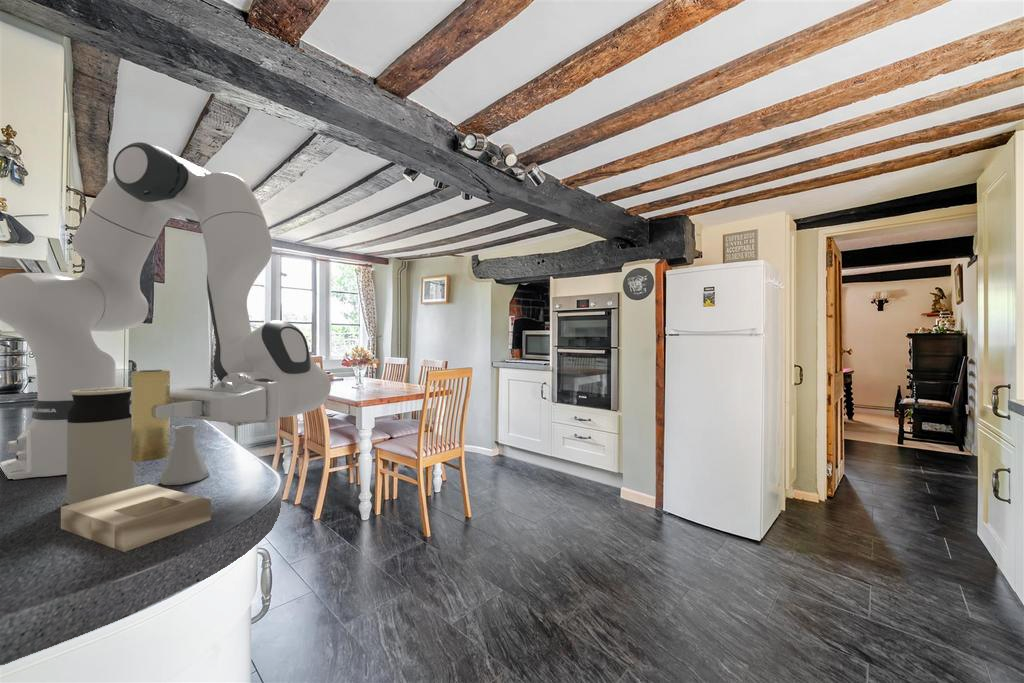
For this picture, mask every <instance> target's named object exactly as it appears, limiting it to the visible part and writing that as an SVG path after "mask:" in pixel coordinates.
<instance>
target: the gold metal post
mask: <svg viewBox="0 0 1024 683" xmlns="http://www.w3.org/2000/svg"><path fill="white" fill-rule="evenodd" d="M170 376H171V370H166V369H165V370H164V369H143V370H138V371H137V370H135V371H132V372H131V388H132V392H131V401H132V414H131V461H135V463H136V462H137V463H139V462H140V463H141V462H150V461H157V460H160V459H164V458H169V457H170V455H171V452H170V449H171V448H170V447H171V446H170V444H171V443H170V442H171V440H170V437H171V436H170V434H171V433H170V432H171V431H170V428H171V427H170V426H171V418H164V419H158V418H154V417H152V407H153V406H154V405H161V404H170V389H171V377H170Z"/></svg>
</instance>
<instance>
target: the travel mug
mask: <svg viewBox="0 0 1024 683" xmlns="http://www.w3.org/2000/svg"><path fill="white" fill-rule="evenodd" d="M70 394H71V395H72V397H73V401H74V404H73V405H72V406H71V408H70V409H69V411H68V412H67V474H66V504H67V505H70V504H74V503H78V502H81V501H85V500H89V499H93V498H97V497H101V496H104V495H108V494H112V493H116V492H120V491H123V490H127V489H131V488H135V487H136V486H135V485H136V480H135V479H136V462H135V461H131V414H130V404H131V403H132V399H131V397H132V386H131V387H129V386H118V387H117V386H115V387H106V388H90V389H80V390H73V391H71V392H70Z"/></svg>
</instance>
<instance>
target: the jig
mask: <svg viewBox="0 0 1024 683" xmlns="http://www.w3.org/2000/svg"><path fill="white" fill-rule="evenodd" d="M211 520H212V499H211V498H208V497H207V498H206V497H203V496H198V495H194V494H190V493H188V492H187V493H186V492H183V491H180V490H179V491H178V490H174V489H170V488H166V487H161V486H157V485H153V484H150V483H147V484H144V485H139V486H135V488H131V489H127V490H123V491H120V492H116V493H112V494H108V495H104V496H101V497H97V498H93V499H89V500H85V501H81V502H78V503H74V504H67V505H63V506H60V529H61V530H64V531H66V532H69V533H71V534H74V535H77V536H80V537H82V538H85V539H88V540H91V541H92V542H93V541H94V542H96V543H98V544H100V545H101V544H102V545H104V546H106V547H109V548H112V549H114V550H117V551H119V552H122V553H126V552H128V551H131V550H134V549H137V548H140V547H142V546H145V545H148V544H150V543H152V542H154V541H158V540H161V539H164V538H167V537H169V536H172V535H175V534H177V533H180V532H182V531H185V530H188V529H191V528H192V527H193V528H194V527H195V526H198V525H201V524H204V523H206V522H209V521H211Z"/></svg>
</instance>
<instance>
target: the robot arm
mask: <svg viewBox="0 0 1024 683" xmlns="http://www.w3.org/2000/svg"><path fill="white" fill-rule="evenodd" d="M112 170H113V172H112V173H113V177H112V178H111V179H110V180H109V181H108V182H107V183H106V184H105V185H104V186H103V188H102V189H101V190H100V192H99V193H98V194H97V195H96V197H95V198H94V199H93V202H92V203H91V204H90V206H89V208H88V210H87V212H86V213H85V215H84V217H83V219H82V220H81V222H80V224H79V226H78V228H77V229H76V231H75V233H74V235H73V236H72V238H71V244H72V248H73V249H74V251H75V253H77V255H78V256H79V257H80V258H81V259H83V260H84V270H83V273H82V274H81V275H80V277H75V276H70V275H62V274H55V273H48V272H19V273H17V272H16V273H9V274H6V275H3V276H2V277H1V278H0V321H1V322H3V323H5V324H6V325H8V326H10V327H11V328H13V329H14V330H15V331H16V332H17V333H19V335H20V336H21V337H22V338H23V339H24V341H25V342H26V343H27V345H28V347H29V349H30V351H31V353H32V355H33V357H34V361H35V362H34V363H35V365H36V377H37V382H36V384H37V400H35V401H34V403H33V406H32V409H31V411H32V413H31V418H32V421H31V422H30V424H28V426H26V428H25V429H24V430H23V431H22V433H21V434H20V435H19V436H18V437H17V439H16V440H10V441H7V444H6V446H7V447H6V450H7V454H14V453H16V456H15V457H16V458H12V459H6V460H4V461H1V462H0V467H1V469H2V471H3V472H4V474H5V475H6V476H7V478H8V479H13V480H23V479H28V478H29V479H30V478H39V477H40V478H41V477H42V478H43V477H54V476H63V475H67V412H68V411H69V409H70V408H71V406H72V405H73V404H74V401H73V397H72V395H71V394H70V392H71V391H73V390H80V389H90V388H106V387H116V369H117V368H116V361H115V359H114V358H113V356H111V355H110V354H109V353H107V352H105V351H103V350H102V349H101V348H100V347H98V345H97V344H96V341H95V340H94V338H93V336H92V333H91V332H109V333H110V332H117V331H119V332H120V331H123V330H124V331H125V330H129V329H134V328H137V327H139V326H140V325H142V324H143V323H144V322H145V320H146V319H147V316H148V315H149V314H148V313H149V303H148V300H147V298H146V297H145V295H144V294H143V292H142V290H141V283H140V282H141V274H142V269H143V267H144V264H145V262H146V261H147V258H148V257H149V255H150V253H151V251H152V249H153V247H154V245H155V244H156V242H157V240H158V238H159V236H160V235H161V233H162V231H163V228H164V227H165V225H166V223H167V222H168V221H169V220H170V219H171V218H174V217H181V218H184V219H185V220H186V221H187V223H188V222H189V223H193V224H197V225H200V229H201V233H202V236H203V241H204V245H205V252H206V253H205V254H206V262H207V264H206V265H207V266H206V267H207V268H206V270H207V273H206V290H207V298H208V303H209V309H210V316H211V321H212V328H213V333H214V339H215V351H214V357H213V364H212V365H213V370H214V371H213V372H214V373H215V376H216V378H217V379H218V381H219V382H217V383H216V384H215V385H214V386H213V387H201V386H200V387H199V386H194V387H193V386H192V387H191V386H189V387H188V386H187V387H176V388H174V387H173V388H170V404H161V405H154V406H153V407H152V417H154V418H158V419H164V418H170V419H171V418H186V419H192V420H201V421H208V422H219V423H226V424H228V425H230V426H231V427H241V426H247V425H251V424H256V423H257V424H258V423H273V422H277V421H279V418H287V417H288V418H290V417H293V416H299V415H302V414H306V413H310V412H311V411H315V410H317V409H318V408H320V407H322V406H323V404H324V403H325V402H326V401H327V400H328V398H329V395H330V393H331V386H332V385H331V384H332V383H331V378H330V377H329V374H328V373H327V372H326V371H325V370H324V369H322V368H321V367H320V366H319V365H318V364H317V363H316V362H315V361H314V359H313V357H312V356H311V354H310V349H309V345H308V340H307V338H306V337H305V335H304V333H303V332H302V330H300V329H299V328H298V327H297V326H295V325H293V324H292V323H290V322H287V321H285V320H277V319H276V320H275V319H273V320H270V321H268V322H266V323H263V324H262V325H261V326H259V327H257V328H256V329H254V330H253V331H252V327H251V322H250V316H249V311H248V305H247V304H248V302H247V301H248V297H249V293H250V291H251V289H252V287H253V285H254V283H255V281H256V280H257V279H258V277H259V276H260V274H261V273H262V271H264V269H265V268H266V267H267V265H268V263H269V262H270V259H271V257H272V254H273V244H272V243H273V241H272V235H271V233H270V229H269V227H268V223H267V221H266V218H265V215H264V213H263V210H262V208H261V206H260V203H259V202H258V200H257V197H256V196H255V194H254V192H253V191H252V189H251V187H250V185H249V184H248V182H246V181H245V180H244V179H243V178H241V177H239V176H238V175H236V174H233V173H230V172H225V171H215V172H210V171H208V170H206V169H205V168H203V167H201V166H199V165H198V164H196V163H192V162H191V161H188V160H186V159H184V158H182V157H179V156H177V155H175V154H172V153H171V152H170V151H168V150H167V149H165V148H163V147H160V146H157V145H153V144H151V143H145V142H138V141H136V142H133V143H130V144H127V145H126V146H124V147H123V148H121V150H119V151H118V153H117V154H116V155H115V158H114V161H113V163H112ZM130 414H132V403H131V404H130ZM1 469H0V470H1ZM2 471H1V472H2ZM3 472H2V473H3ZM4 474H3V475H4ZM5 475H4V476H5ZM6 476H5V477H6ZM7 478H6V479H7ZM8 479H7V480H8Z"/></svg>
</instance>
